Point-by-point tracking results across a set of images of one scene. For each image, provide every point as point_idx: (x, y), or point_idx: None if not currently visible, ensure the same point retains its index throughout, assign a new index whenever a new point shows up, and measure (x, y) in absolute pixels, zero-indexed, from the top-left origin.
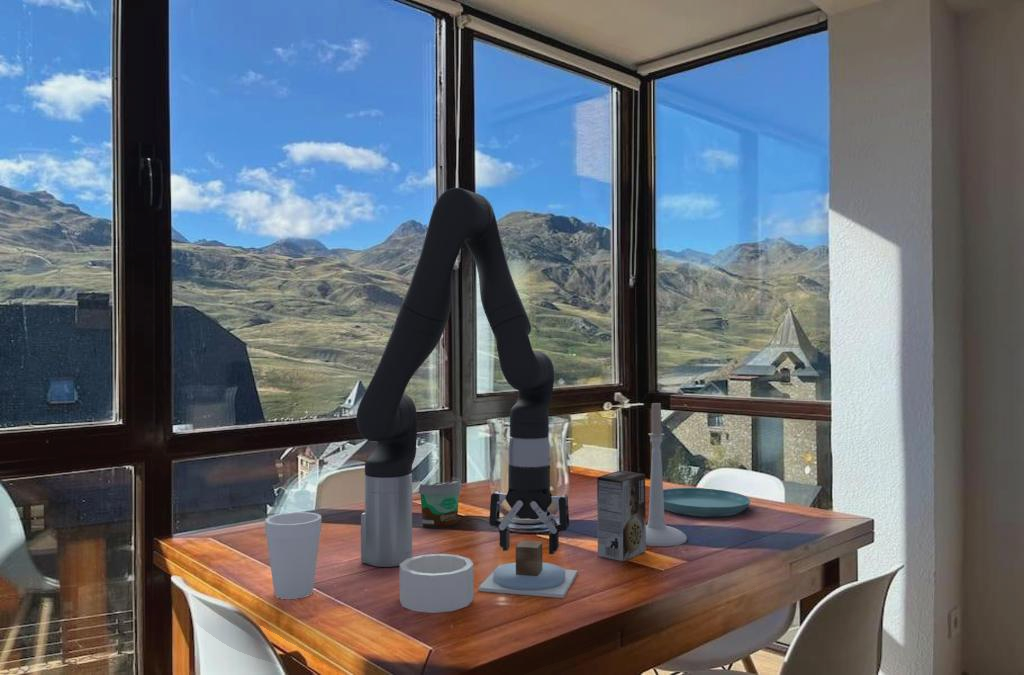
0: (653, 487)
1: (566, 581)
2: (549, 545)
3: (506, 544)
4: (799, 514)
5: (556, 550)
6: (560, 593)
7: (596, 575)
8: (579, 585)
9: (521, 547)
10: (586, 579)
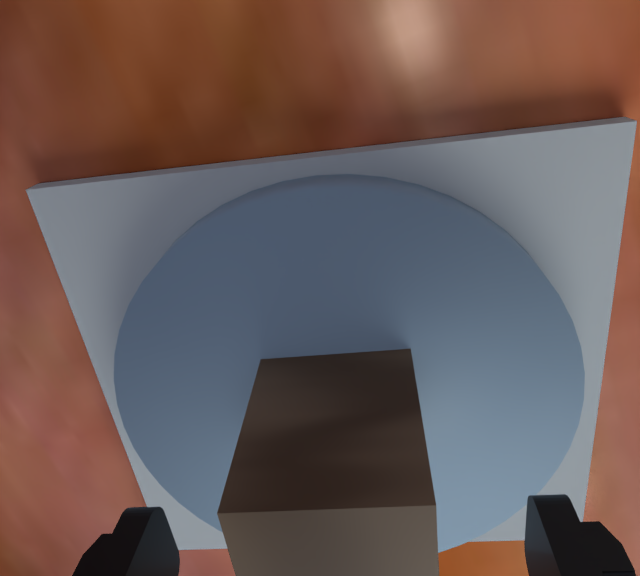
0: None
1: None
2: (124, 565)
3: (547, 540)
4: None
5: (100, 543)
6: (50, 201)
7: (80, 534)
8: (76, 401)
9: (374, 502)
10: (92, 481)
